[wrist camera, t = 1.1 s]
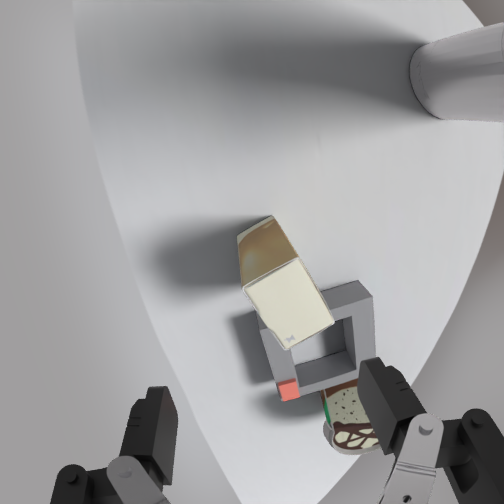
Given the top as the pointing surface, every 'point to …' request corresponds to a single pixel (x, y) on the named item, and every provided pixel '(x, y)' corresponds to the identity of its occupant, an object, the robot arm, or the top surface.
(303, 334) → the skincare box
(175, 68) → the top surface
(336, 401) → the food container
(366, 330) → the socket block
